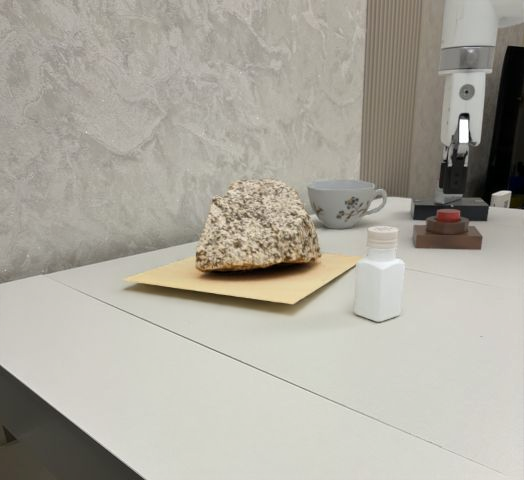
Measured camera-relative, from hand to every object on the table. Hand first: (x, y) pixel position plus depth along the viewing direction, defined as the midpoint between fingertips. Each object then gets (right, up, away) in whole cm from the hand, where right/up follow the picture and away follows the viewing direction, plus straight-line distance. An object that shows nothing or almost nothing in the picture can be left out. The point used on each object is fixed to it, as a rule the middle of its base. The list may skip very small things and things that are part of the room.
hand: (451, 189), depth 87 cm
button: (0, -5, +2) cm, 5 cm away
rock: (-31, -15, -10) cm, 36 cm away
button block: (0, -8, +3) cm, 9 cm away
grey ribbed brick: (+8, +5, +24) cm, 26 cm away
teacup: (-14, -2, +18) cm, 23 cm away
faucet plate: (+8, +2, +25) cm, 27 cm away
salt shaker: (-17, -22, -27) cm, 39 cm away
